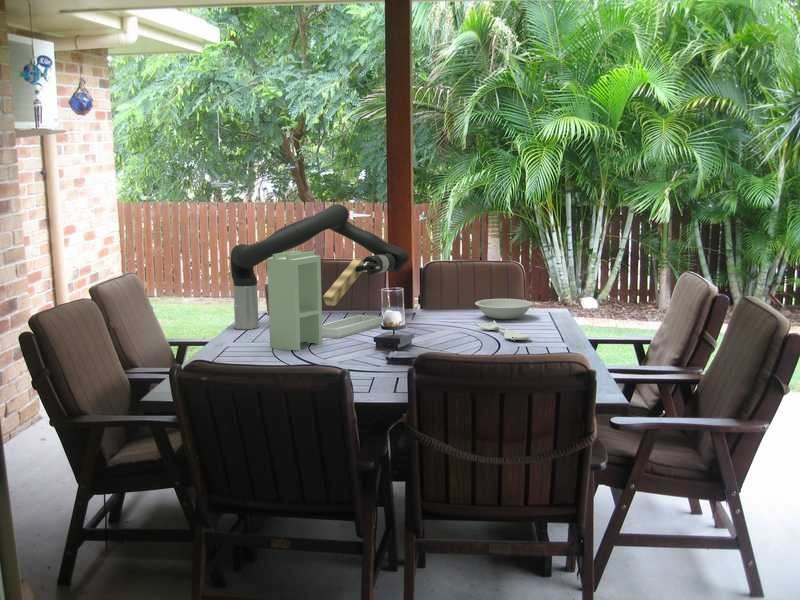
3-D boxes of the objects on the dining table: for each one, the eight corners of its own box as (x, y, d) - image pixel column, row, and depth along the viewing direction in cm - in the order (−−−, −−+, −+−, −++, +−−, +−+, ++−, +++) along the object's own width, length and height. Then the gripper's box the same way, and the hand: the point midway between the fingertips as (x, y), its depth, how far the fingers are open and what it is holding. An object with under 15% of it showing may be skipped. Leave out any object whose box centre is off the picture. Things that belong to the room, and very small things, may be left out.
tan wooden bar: (334, 305, 339) (331, 297, 337) (326, 305, 341) (322, 296, 339) (365, 268, 355) (362, 259, 352) (356, 267, 357) (353, 259, 355)
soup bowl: (542, 316, 379) (542, 301, 378) (518, 325, 359) (518, 309, 358) (491, 312, 392) (491, 296, 391) (464, 320, 372) (464, 304, 371)
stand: (296, 351, 315) (294, 255, 310) (270, 347, 321) (267, 254, 316) (322, 343, 328) (320, 251, 322) (296, 340, 334) (293, 250, 329)
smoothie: (288, 312, 395) (286, 267, 392) (279, 315, 387) (278, 269, 384) (270, 311, 398) (269, 266, 395) (262, 315, 390) (260, 269, 387)
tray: (337, 338, 336) (337, 329, 336) (313, 336, 342) (313, 326, 341) (382, 325, 362) (382, 316, 362) (360, 323, 368) (359, 314, 367)
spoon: (494, 327, 356) (494, 319, 356) (535, 342, 327) (535, 333, 326) (473, 329, 353) (473, 321, 352) (513, 344, 323) (513, 335, 323)
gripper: (361, 254, 368) (336, 258, 353) (390, 256, 360) (366, 260, 346) (361, 272, 369) (336, 277, 354) (390, 274, 362) (366, 279, 347)
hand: (351, 269), depth 350 cm, fingers closed on tan wooden bar, 4 cm apart
